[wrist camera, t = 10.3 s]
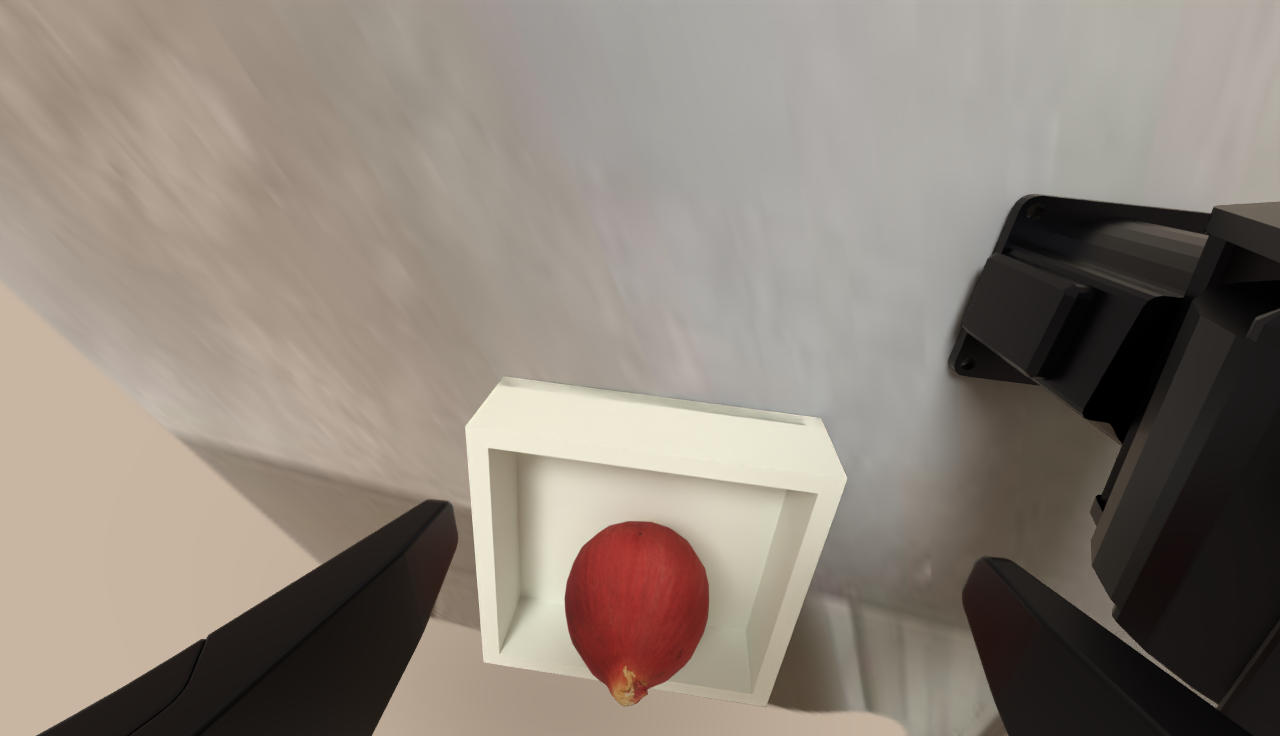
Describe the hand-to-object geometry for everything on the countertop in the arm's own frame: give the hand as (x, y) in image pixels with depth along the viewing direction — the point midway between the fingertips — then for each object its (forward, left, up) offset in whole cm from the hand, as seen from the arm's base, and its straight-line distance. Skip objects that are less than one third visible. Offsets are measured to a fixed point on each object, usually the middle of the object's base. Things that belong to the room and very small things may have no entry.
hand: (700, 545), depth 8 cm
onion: (+1, +11, -11) cm, 16 cm away
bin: (+1, +11, -12) cm, 16 cm away
